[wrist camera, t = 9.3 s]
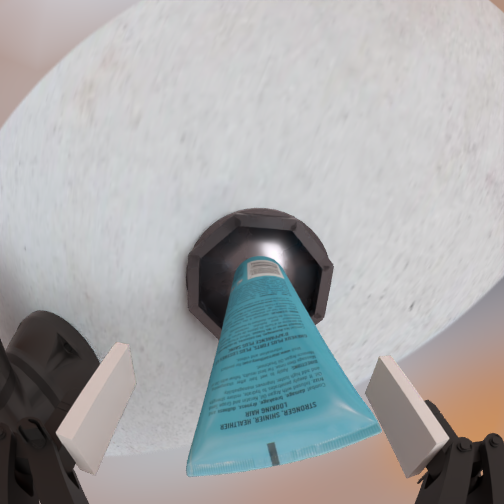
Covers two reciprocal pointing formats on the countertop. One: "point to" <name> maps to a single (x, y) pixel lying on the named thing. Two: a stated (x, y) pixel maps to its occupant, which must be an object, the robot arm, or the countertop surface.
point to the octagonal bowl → (250, 245)
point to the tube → (273, 383)
